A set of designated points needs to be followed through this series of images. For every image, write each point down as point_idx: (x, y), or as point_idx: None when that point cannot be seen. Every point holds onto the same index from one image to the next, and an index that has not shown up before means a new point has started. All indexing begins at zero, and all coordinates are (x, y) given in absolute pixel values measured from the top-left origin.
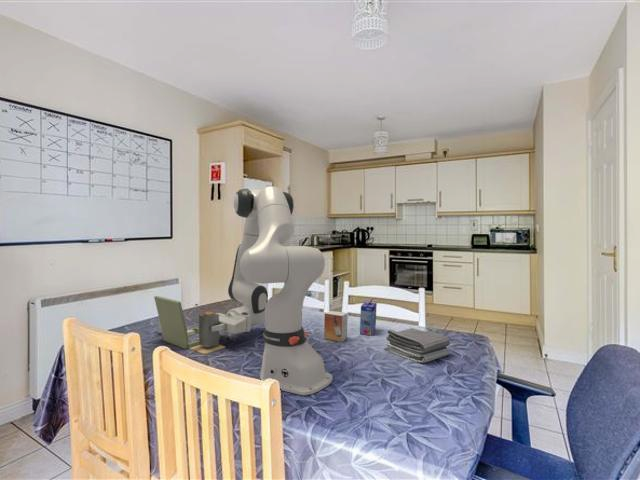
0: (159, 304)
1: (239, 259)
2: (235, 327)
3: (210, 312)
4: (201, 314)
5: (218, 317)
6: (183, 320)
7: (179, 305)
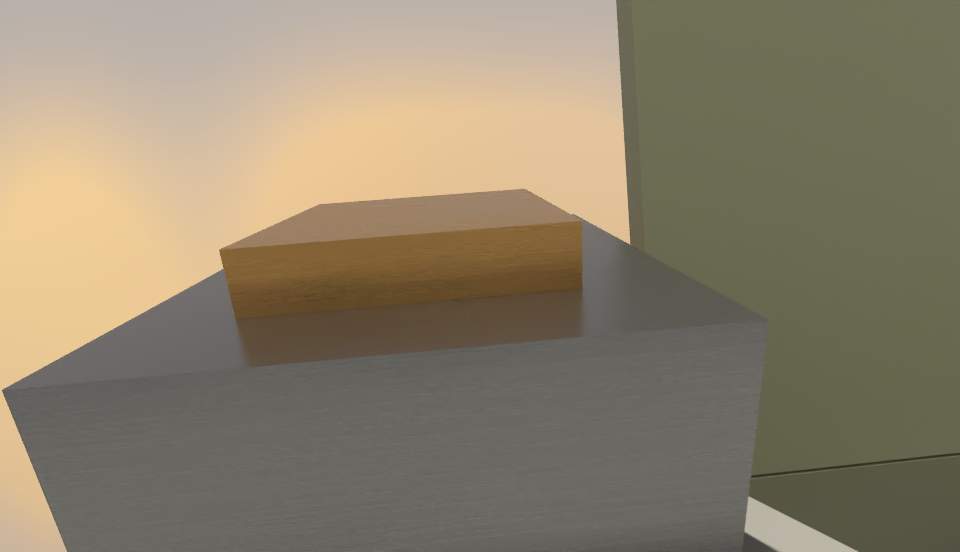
0: None
1: None
2: None
3: (445, 220)
4: (588, 224)
5: (83, 510)
6: (638, 239)
7: (622, 24)
